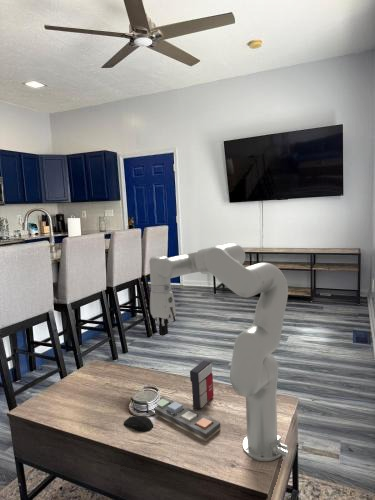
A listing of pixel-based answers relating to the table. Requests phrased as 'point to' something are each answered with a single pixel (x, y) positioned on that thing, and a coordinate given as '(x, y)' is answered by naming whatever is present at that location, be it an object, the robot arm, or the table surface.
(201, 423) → the key terracotta
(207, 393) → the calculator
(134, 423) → the gaming mouse
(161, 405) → the key sage
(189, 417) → the key ivory
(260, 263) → the robot arm
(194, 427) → the keypad
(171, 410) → the key slate
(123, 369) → the table surface
